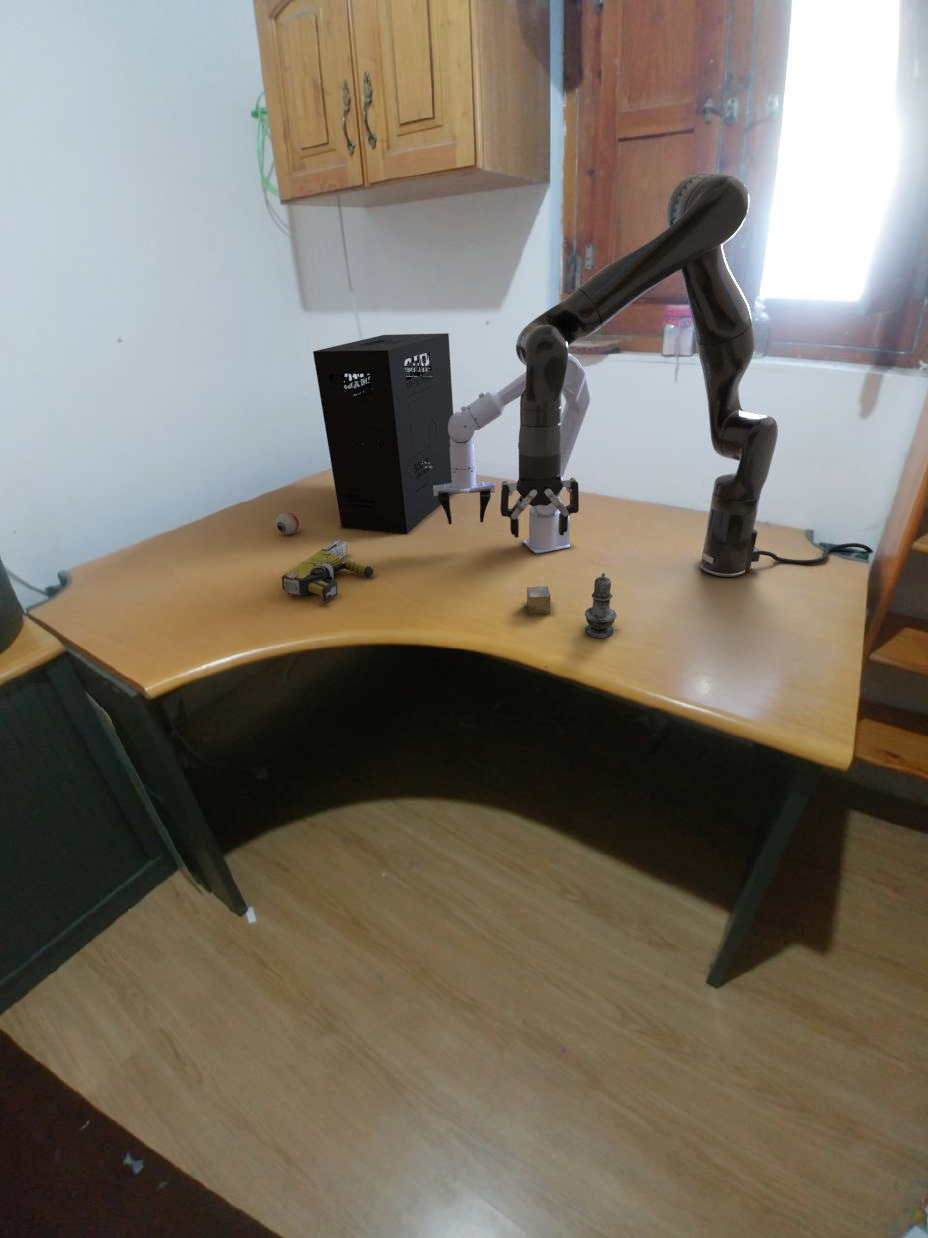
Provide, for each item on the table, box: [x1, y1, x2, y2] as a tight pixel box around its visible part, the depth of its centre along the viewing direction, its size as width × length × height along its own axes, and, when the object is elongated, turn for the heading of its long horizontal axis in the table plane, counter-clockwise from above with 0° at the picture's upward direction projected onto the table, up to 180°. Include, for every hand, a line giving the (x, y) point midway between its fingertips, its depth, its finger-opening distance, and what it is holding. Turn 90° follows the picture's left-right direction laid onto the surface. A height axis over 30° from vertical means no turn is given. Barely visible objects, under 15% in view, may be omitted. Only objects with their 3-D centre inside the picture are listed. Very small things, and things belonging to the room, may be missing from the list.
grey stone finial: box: [583, 572, 618, 639], centre depth 111 cm, size 6×6×12 cm
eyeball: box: [275, 511, 300, 536], centre depth 163 cm, size 6×6×6 cm
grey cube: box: [526, 585, 552, 616], centre depth 121 cm, size 4×4×4 cm
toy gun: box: [281, 539, 374, 603], centre depth 138 cm, size 5×24×15 cm
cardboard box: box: [312, 332, 454, 534], centre depth 168 cm, size 38×20×45 cm, turn 159°
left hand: (465, 521), depth 147 cm, fingers open, 7 cm apart
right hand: (538, 534), depth 114 cm, fingers open, 8 cm apart
